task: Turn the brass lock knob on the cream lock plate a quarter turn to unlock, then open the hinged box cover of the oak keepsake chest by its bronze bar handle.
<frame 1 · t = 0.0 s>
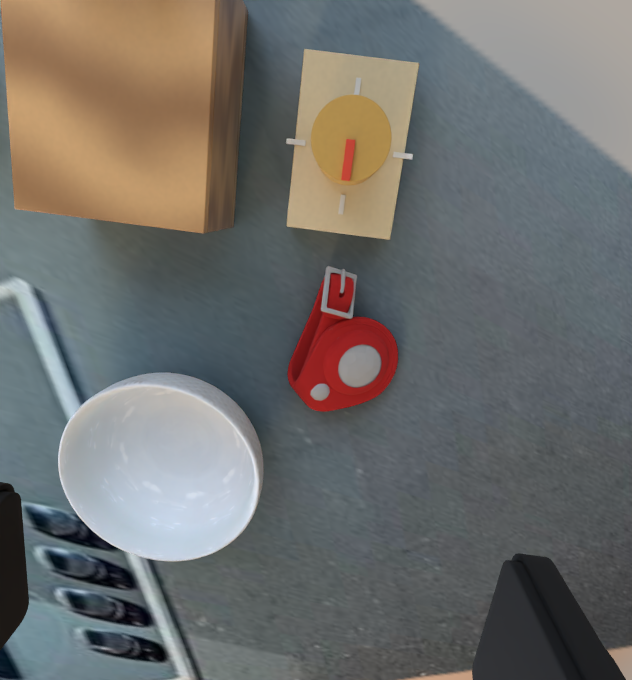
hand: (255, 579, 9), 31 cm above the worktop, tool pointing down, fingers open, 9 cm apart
chest: (161, 116, 36), on the worktop
hinged box cover: (86, 70, 25), point 11 cm above the worktop, hinge at 0.0°
tracker holder: (346, 336, 40), on the worktop
cereal bowl: (186, 435, 44), on the worktop
lock plate: (348, 153, 36), on the worktop
lock knob: (350, 144, 30), point 6 cm above the worktop, hinge at 0.0°
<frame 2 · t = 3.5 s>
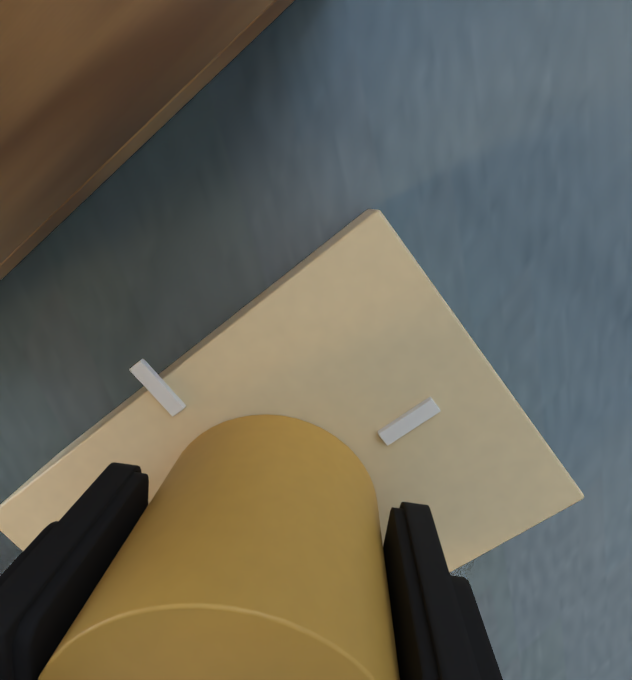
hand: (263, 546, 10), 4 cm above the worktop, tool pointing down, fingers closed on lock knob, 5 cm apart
lock plate: (285, 444, 14), on the worktop
lock knob: (249, 605, 8), point 6 cm above the worktop, hinge at -0.1°, touching gripper
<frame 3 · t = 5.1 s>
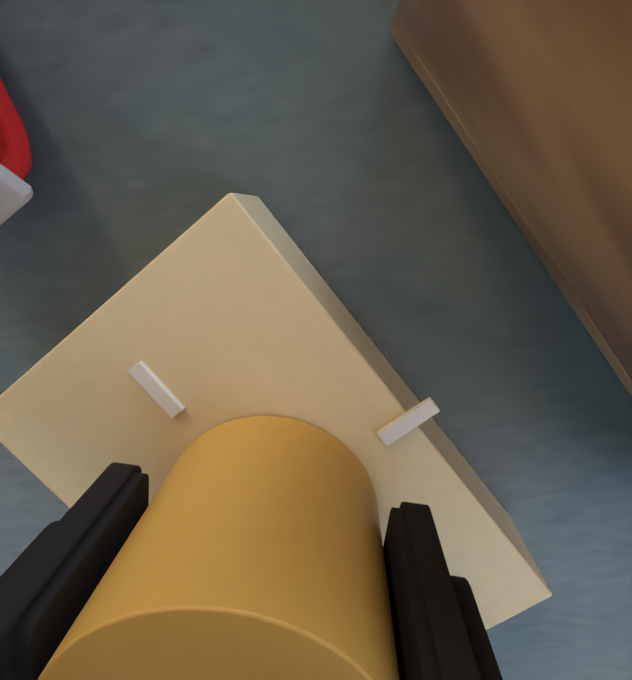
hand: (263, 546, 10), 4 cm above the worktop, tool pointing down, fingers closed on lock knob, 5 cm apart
lock plate: (286, 445, 14), on the worktop
lock knob: (249, 606, 8), point 6 cm above the worktop, hinge at 89.6°, touching gripper
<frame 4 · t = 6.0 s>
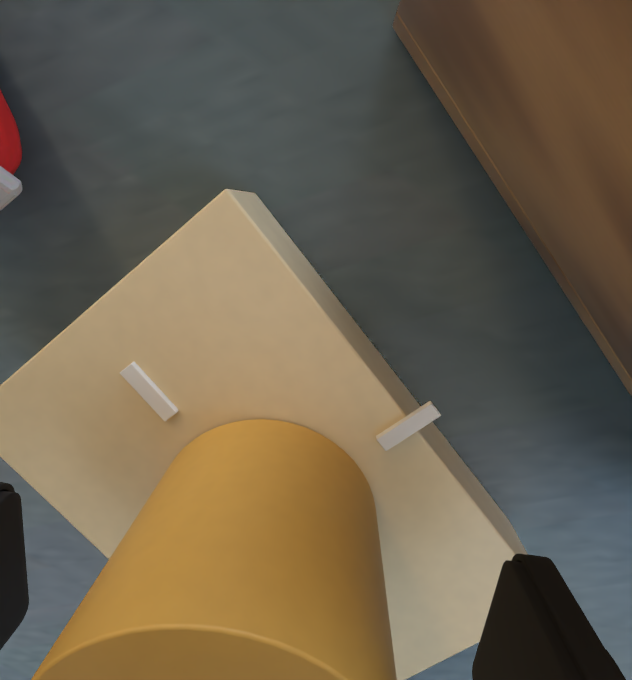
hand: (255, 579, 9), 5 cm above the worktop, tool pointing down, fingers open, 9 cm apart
lock plate: (282, 448, 13), on the worktop
lock knob: (243, 617, 8), point 6 cm above the worktop, hinge at 89.9°
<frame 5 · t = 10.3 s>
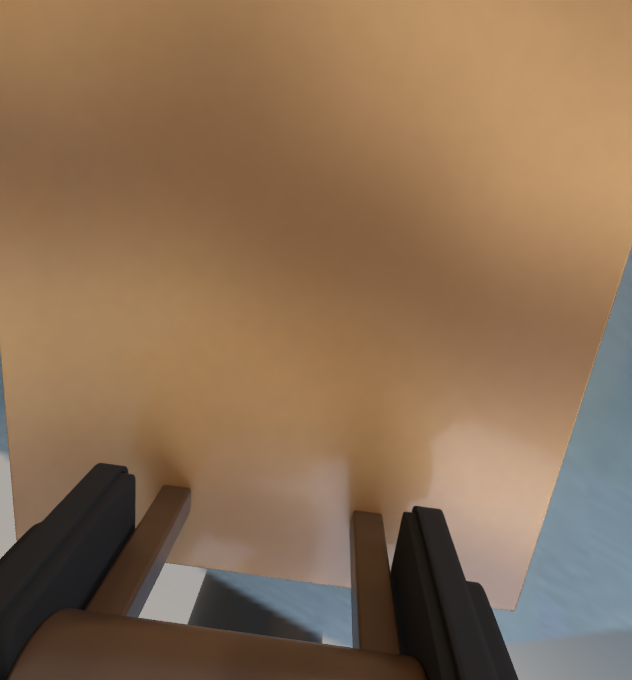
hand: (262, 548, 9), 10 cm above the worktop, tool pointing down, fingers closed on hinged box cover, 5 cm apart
hinged box cover: (287, 258, 7), point 11 cm above the worktop, hinge at 0.0°, touching gripper
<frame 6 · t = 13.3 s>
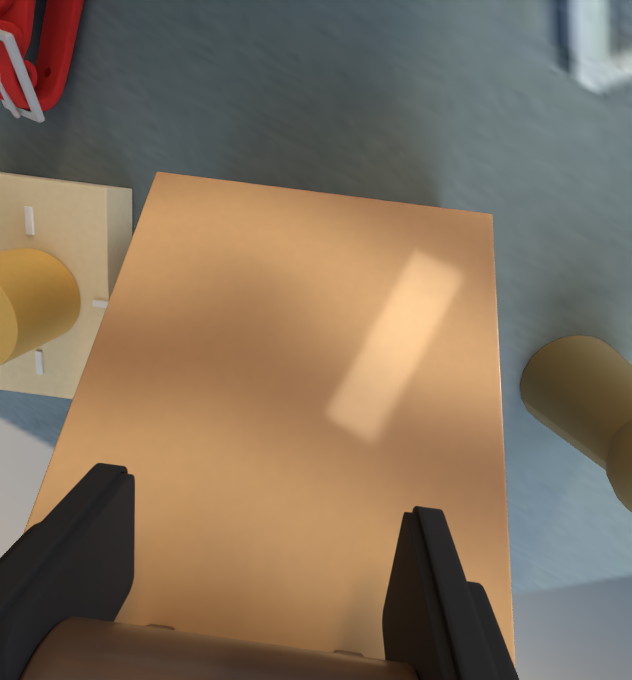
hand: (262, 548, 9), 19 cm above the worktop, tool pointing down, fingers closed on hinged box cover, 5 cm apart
hinged box cover: (290, 376, 11), point 16 cm above the worktop, hinge at 42.7°, touching gripper
cork: (569, 381, 28), on the worktop
lock plate: (67, 284, 27), on the worktop
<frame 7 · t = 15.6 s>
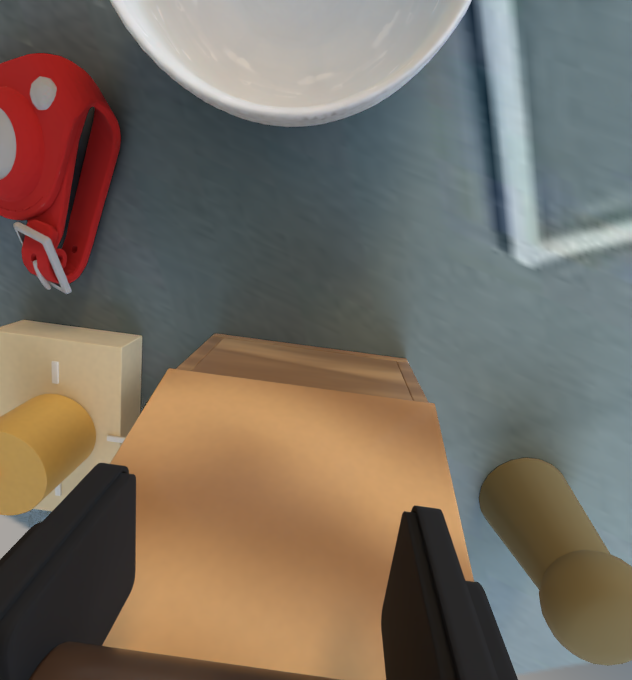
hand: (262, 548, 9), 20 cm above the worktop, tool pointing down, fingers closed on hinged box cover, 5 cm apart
chest: (296, 453, 31), on the worktop
hinged box cover: (277, 495, 13), point 17 cm above the worktop, hinge at 72.6°, touching gripper
tracker holder: (51, 180, 28), on the worktop
cork: (522, 495, 32), on the worktop
lock plate: (83, 411, 31), on the worktop
lock knob: (29, 451, 26), point 6 cm above the worktop, hinge at 89.9°
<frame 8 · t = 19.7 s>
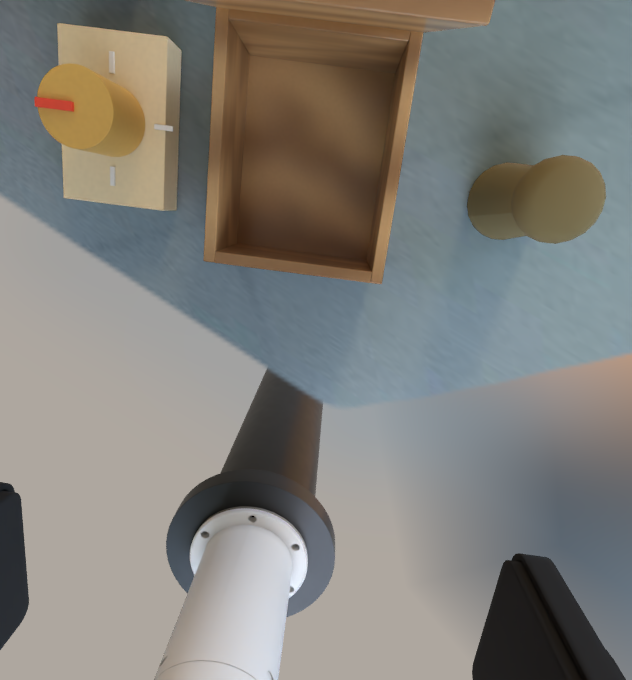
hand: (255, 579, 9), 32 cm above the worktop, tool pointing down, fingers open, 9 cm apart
chest: (312, 164, 37), on the worktop
cork: (503, 202, 37), on the worktop
lock plate: (130, 128, 37), on the worktop
lock knob: (94, 114, 31), point 6 cm above the worktop, hinge at 89.9°
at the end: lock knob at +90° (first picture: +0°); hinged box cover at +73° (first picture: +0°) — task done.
